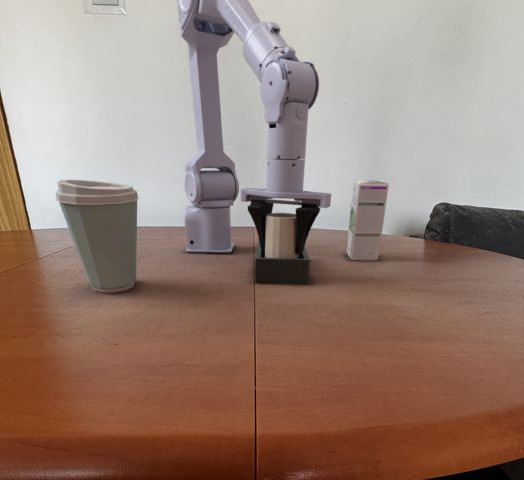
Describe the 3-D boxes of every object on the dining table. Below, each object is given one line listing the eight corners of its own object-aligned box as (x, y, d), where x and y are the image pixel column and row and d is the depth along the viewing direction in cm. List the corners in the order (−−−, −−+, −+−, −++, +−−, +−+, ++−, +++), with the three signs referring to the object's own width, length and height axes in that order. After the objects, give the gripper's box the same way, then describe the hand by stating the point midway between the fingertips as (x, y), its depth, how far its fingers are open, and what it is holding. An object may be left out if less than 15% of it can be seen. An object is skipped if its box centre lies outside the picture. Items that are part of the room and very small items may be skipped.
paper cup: (259, 266, 63) (260, 216, 59) (272, 258, 67) (274, 211, 64) (290, 270, 61) (293, 219, 57) (302, 262, 65) (305, 214, 62)
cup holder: (255, 283, 61) (255, 258, 59) (258, 258, 76) (258, 237, 74) (307, 284, 61) (309, 259, 59) (300, 259, 76) (302, 238, 74)
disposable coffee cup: (145, 274, 64) (133, 178, 57) (153, 294, 55) (140, 183, 48) (77, 280, 61) (56, 178, 54) (74, 302, 52) (47, 184, 45)
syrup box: (378, 261, 76) (391, 182, 69) (349, 260, 76) (359, 181, 69) (371, 254, 81) (383, 180, 74) (344, 253, 81) (353, 179, 74)
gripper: (339, 160, 57) (330, 250, 64) (254, 158, 62) (253, 241, 69) (327, 161, 52) (318, 259, 58) (234, 158, 57) (235, 248, 63)
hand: (281, 250), depth 63 cm, fingers closed on paper cup, 6 cm apart
